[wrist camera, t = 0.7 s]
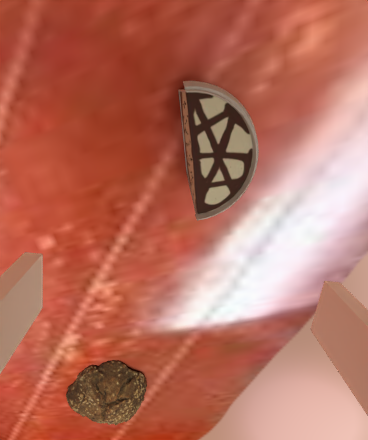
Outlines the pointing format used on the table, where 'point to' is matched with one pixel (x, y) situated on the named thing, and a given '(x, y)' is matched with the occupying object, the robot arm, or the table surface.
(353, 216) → the table surface
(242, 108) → the food container
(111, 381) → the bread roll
